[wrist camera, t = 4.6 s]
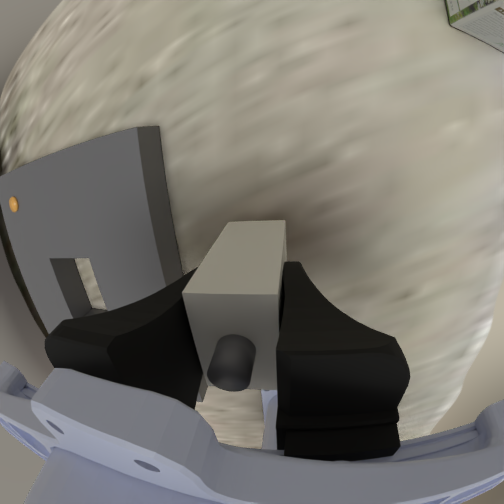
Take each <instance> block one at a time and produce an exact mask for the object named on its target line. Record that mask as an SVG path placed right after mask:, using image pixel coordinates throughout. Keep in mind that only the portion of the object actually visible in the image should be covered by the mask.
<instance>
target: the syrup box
mask: <svg viewBox="0 0 504 504" xmlns="http://www.w3.org/2000/svg"><path fill="white" fill-rule="evenodd" d="M445 1H446V6H447V11H448V17H449V21H450V25H451V26H453V27H455V28H457V29H459V30H461V31H463V32H465V33H467V34H469V35H471V36H473V37H476V38H478V39H480V40H481V41H484V42H485V43H487V44H489V45H491V46H493V47H495V48H496V49H498V50H500V51H502V52H503V53H504V0H445Z"/></svg>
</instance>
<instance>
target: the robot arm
mask: <svg viewBox="0 0 504 504" xmlns="http://www.w3.org/2000/svg"><path fill="white" fill-rule="evenodd" d="M197 268H198V267H197ZM197 268H196V269H194V270H192V271H191V272H189V273H188V274H186V275H184V276H183V277H181V278H180V279H178V280H177V281H175V282H173V283H171V284H170V285H168V286H166V287H165V288H163V289H161V290H159V291H158V292H156V293H154V294H152V295H150V296H148V297H145V298H143V299H141V300H139V301H136V302H134V303H131V304H128V305H125V306H123V307H120V308H117V309H114V310H111V311H107V312H104V313H99V314H95V315H91V316H85V317H79V318H73V319H65V320H63V321H62V322H60V324H59V325H58V326H57V327H56V328H55V329H54V330H53V331H52V332H51V333H50V334H49V335H48V336H47V338H46V339H45V350H46V353H47V356H48V358H49V360H50V361H51V363H52V365H53V366H54V368H55V369H54V370H53V371H52V373H51V374H50V375H49V376H48V378H47V379H46V380H45V381H44V383H43V384H42V385H41V387H40V388H37V387H35V386H33V385H31V384H29V383H28V382H27V380H26V379H25V377H24V376H23V374H22V373H21V372H20V371H19V370H18V369H17V368H16V367H15V366H13V365H11V364H9V363H8V362H6V361H3V363H2V364H1V365H0V424H1V425H2V426H3V427H4V428H5V429H6V430H7V431H8V432H9V433H10V434H11V435H12V436H14V437H15V438H16V439H17V440H19V441H20V442H21V443H22V444H24V445H25V446H26V447H28V448H29V449H30V450H32V451H33V452H34V453H36V454H37V455H38V456H40V457H41V458H42V459H44V460H45V461H46V462H45V464H44V465H43V467H42V469H41V471H40V473H39V475H38V476H37V478H36V480H35V482H34V484H33V486H32V488H31V490H30V492H29V493H28V496H27V497H26V499H25V501H24V503H23V504H460V503H463V502H464V501H467V500H469V499H471V498H473V497H476V496H478V495H480V494H482V493H484V492H486V491H488V490H490V489H492V488H493V487H495V486H496V485H497V484H499V483H501V482H502V481H503V480H504V399H503V400H501V401H498V402H496V403H493V404H491V405H489V406H488V407H486V408H485V409H484V410H483V411H482V412H481V413H480V414H479V416H478V417H477V419H476V420H475V422H472V423H470V424H466V425H463V426H460V427H457V428H454V429H450V430H447V431H443V432H440V433H436V434H432V435H428V436H423V437H419V438H414V439H410V440H405V441H400V439H399V434H398V429H397V424H396V423H398V421H399V413H398V409H397V407H398V405H399V403H400V401H401V399H402V397H403V395H404V393H405V391H406V388H407V386H408V383H409V380H410V371H409V367H408V364H407V361H406V358H405V356H404V354H403V352H402V350H401V348H400V346H399V344H398V343H397V341H396V339H395V337H392V336H389V335H387V334H384V333H381V332H379V331H376V330H373V329H371V328H369V327H367V326H365V325H363V324H361V323H359V322H357V321H356V320H354V319H352V318H351V317H349V316H348V315H346V314H345V313H343V312H342V311H340V310H339V309H337V308H336V307H335V306H334V305H333V304H331V303H330V302H329V301H328V300H327V299H326V298H325V297H324V296H323V295H322V294H321V293H320V291H319V290H318V289H317V288H316V287H315V285H314V284H313V283H312V281H311V280H310V279H309V277H308V276H307V274H306V272H305V271H304V269H303V267H302V264H301V263H300V262H284V266H283V296H284V311H283V318H282V324H281V329H280V334H279V338H278V342H277V346H276V371H277V390H261V395H262V404H263V414H264V424H265V428H264V435H263V442H262V448H261V449H253V448H242V447H236V446H232V445H228V444H224V443H219V442H218V440H217V438H216V435H215V433H214V431H213V429H212V428H211V426H210V425H209V424H208V423H207V422H206V421H205V419H204V418H203V417H202V416H201V415H200V414H199V412H197V411H195V405H196V401H197V396H198V392H199V388H200V384H201V380H202V376H203V370H202V366H201V363H200V360H199V356H198V353H197V349H196V346H195V342H194V338H193V335H192V331H191V327H190V323H189V320H188V316H187V312H186V308H185V304H184V300H183V295H182V292H183V290H184V289H185V287H186V285H187V284H188V282H189V281H190V279H191V278H192V276H193V275H194V273H195V271H196V270H197Z"/></svg>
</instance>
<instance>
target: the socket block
mask: <svg viewBox="0 0 504 504" xmlns="http://www.w3.org/2000/svg"><path fill="white" fill-rule="evenodd" d="M0 203H1V208H2V212H3V216H4V220H5V224H6V227H7V231H8V234H9V238H10V241H11V244H12V247H13V251H14V254H15V257H16V259H17V262H18V265H19V268H20V271H21V273H22V276H23V278H24V281H25V283H26V286H27V288H28V291H29V293H30V295H31V298H32V300H33V302H34V304H35V307H36V309H37V311H38V313H39V315H40V317H41V319H42V321H43V323H44V325H45V327H46V329H47V331H48V333H49V334H50V333H51V332H52V331H53V330H54V329H55V328H56V327H57V326H58V325H59V324H60V322H62V321H63V320H65V319H73V318H79V317H85V316H91V315H95V314H99V313H104V312H107V311H111V310H114V309H117V308H120V307H123V306H125V305H128V304H131V303H134V302H136V301H139V300H141V299H143V298H145V297H148V296H150V295H152V294H154V293H156V292H158V291H159V290H161V289H163V288H165V287H166V286H168V285H170V284H171V283H173V282H175V281H177V280H178V279H180V278H181V277H183V273H182V268H181V263H180V258H179V253H178V248H177V243H176V238H175V232H174V227H173V221H172V216H171V210H170V204H169V198H168V192H167V185H166V178H165V171H164V164H163V157H162V149H161V140H160V132H159V126H148V127H136V128H131V129H128V130H124V131H120V132H116V133H113V134H109V135H106V136H102V137H99V138H96V139H93V140H89V141H86V142H83V143H80V144H77V145H74V146H72V147H69V148H66V149H63V150H60V151H58V152H55V153H52V154H50V155H47V156H45V157H42V158H40V159H38V160H35V161H33V162H30V163H28V164H26V165H24V166H21V167H19V168H17V169H15V170H13V171H11V172H9V173H6V174H4V175H2V176H0ZM74 258H89V259H90V262H91V266H92V269H93V272H94V275H95V278H96V281H97V284H98V286H99V289H100V292H101V295H102V297H103V300H104V303H105V305H106V308H107V310H101V309H93V308H92V307H91V305H90V302H89V300H88V297H87V295H86V292H85V289H84V287H83V284H82V281H81V279H80V276H79V273H78V270H77V267H76V264H75V261H74ZM207 387H208V385H207V383H206V380H205V376H204V373H203V376H202V380H201V384H200V388H199V392H198V396H197V402H203V399H204V396H205V393H206V390H207Z"/></svg>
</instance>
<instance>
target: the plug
mask: <svg viewBox="0 0 504 504" xmlns="http://www.w3.org/2000/svg"><path fill="white" fill-rule="evenodd" d="M284 262H287V251H286V225H285V220H270V221H239V222H228V223H227V225H226V226H225V228H224V229H223V231H222V232H221V234H220V235H219V237H218V238H217V240H216V241H215V243H214V244H213V246H212V247H211V249H210V250H209V252H208V253H207V255H206V256H205V258H204V259H203V261H202V262H201V264H200V265H199V267H198V268H197V270H196V271H195V273H194V275H193V276H192V278H191V279H190V281H189V282H188V284H187V285H186V287H185V289H184V290H183V292H182V295H183V300H184V304H185V308H186V312H187V316H188V320H189V323H190V327H191V331H192V335H193V338H194V342H195V346H196V349H197V353H198V356H199V360H200V363H201V366H202V370H203V373H204V376H205V380H206V383H207V385H209V386H216V387H218V388H220V389H222V390H226V391H242V390H244V389H257V390H277V371H276V346H277V342H278V338H279V334H280V329H281V324H282V318H283V311H284V296H283V266H284Z"/></svg>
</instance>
